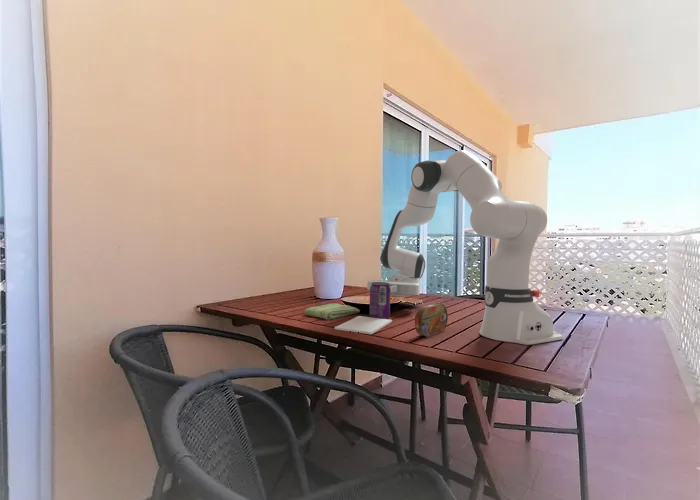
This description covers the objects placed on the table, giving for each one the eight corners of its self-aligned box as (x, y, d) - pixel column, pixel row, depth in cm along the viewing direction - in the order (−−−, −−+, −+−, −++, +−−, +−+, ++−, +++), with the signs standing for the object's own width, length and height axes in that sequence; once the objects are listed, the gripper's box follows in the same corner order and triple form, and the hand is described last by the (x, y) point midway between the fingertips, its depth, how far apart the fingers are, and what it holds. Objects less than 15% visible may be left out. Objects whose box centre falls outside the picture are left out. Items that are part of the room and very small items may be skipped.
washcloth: (361, 314, 137) (361, 305, 137) (328, 322, 124) (328, 312, 124) (335, 309, 146) (335, 300, 146) (301, 316, 132) (301, 307, 132)
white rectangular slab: (358, 317, 129) (358, 316, 129) (392, 321, 124) (392, 319, 124) (334, 329, 113) (334, 327, 113) (371, 334, 108) (371, 332, 108)
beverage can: (393, 316, 131) (394, 282, 131) (384, 320, 125) (384, 284, 125) (375, 314, 135) (376, 281, 135) (365, 317, 129) (366, 283, 129)
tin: (422, 339, 103) (422, 309, 103) (412, 337, 105) (413, 307, 105) (448, 330, 114) (449, 302, 114) (439, 328, 117) (439, 301, 116)
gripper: (374, 275, 153) (360, 278, 140) (424, 278, 144) (414, 282, 131) (374, 291, 153) (360, 295, 140) (423, 295, 144) (413, 300, 132)
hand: (386, 289), depth 136 cm, fingers closed
